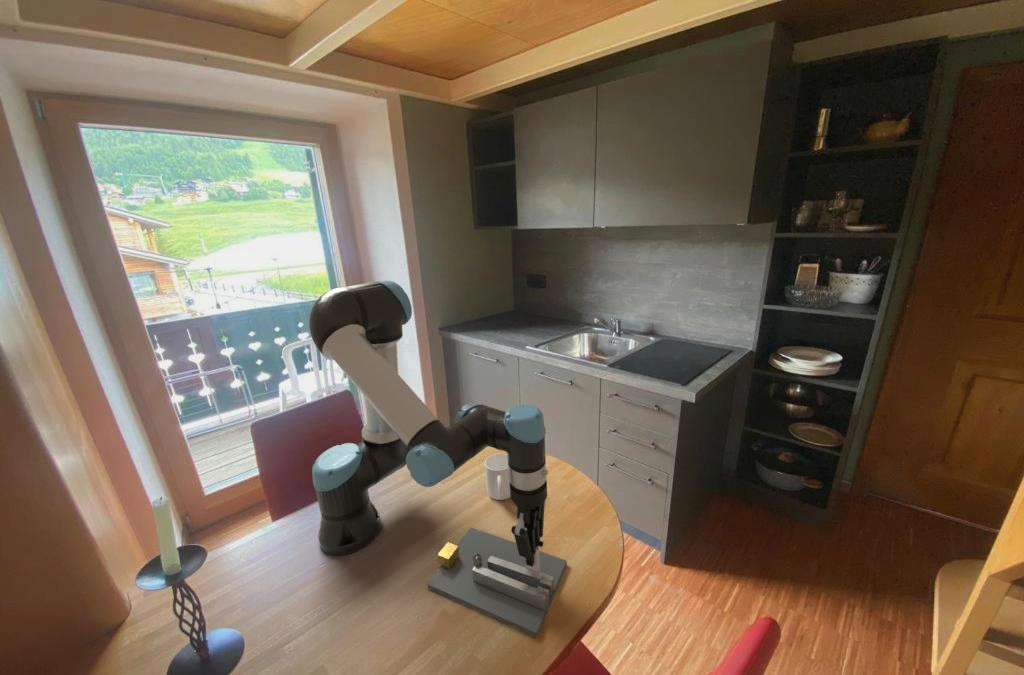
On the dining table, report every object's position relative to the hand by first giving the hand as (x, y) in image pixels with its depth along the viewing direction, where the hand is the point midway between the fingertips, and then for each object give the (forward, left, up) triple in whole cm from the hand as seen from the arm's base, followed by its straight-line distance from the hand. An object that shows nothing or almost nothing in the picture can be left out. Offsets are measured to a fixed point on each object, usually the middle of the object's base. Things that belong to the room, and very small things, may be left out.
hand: (533, 571), depth 85 cm
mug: (-20, +22, -3) cm, 30 cm away
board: (-8, -2, -3) cm, 9 cm away
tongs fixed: (-4, -4, -2) cm, 6 cm away
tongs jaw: (-2, -2, -2) cm, 3 cm away
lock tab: (-20, -4, -2) cm, 20 cm away
